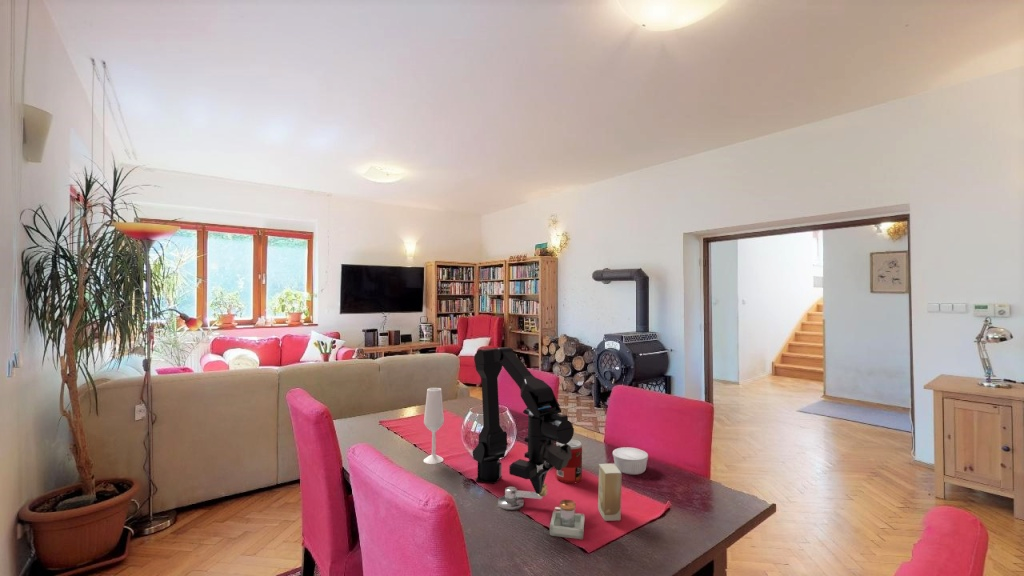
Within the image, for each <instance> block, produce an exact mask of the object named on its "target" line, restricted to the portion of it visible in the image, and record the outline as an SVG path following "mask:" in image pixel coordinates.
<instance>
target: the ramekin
mask: <svg viewBox="0 0 1024 576" xmlns="http://www.w3.org/2000/svg"><path fill="white" fill-rule="evenodd" d="M612 457H613V461H614V462H613V464H615V465H616V467H617V468H618V469H619V470H620V472H621V473H622V474H626V475H634V476H635V475H641V474H643V473H644V472H645V471H646V469H647V464H648V459H649V454H648V452H646V451H645V450H642V449H639V448H637V447H627V446H626V447H624V446H623V447H618V448H615V449H613V451H612Z"/></svg>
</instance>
